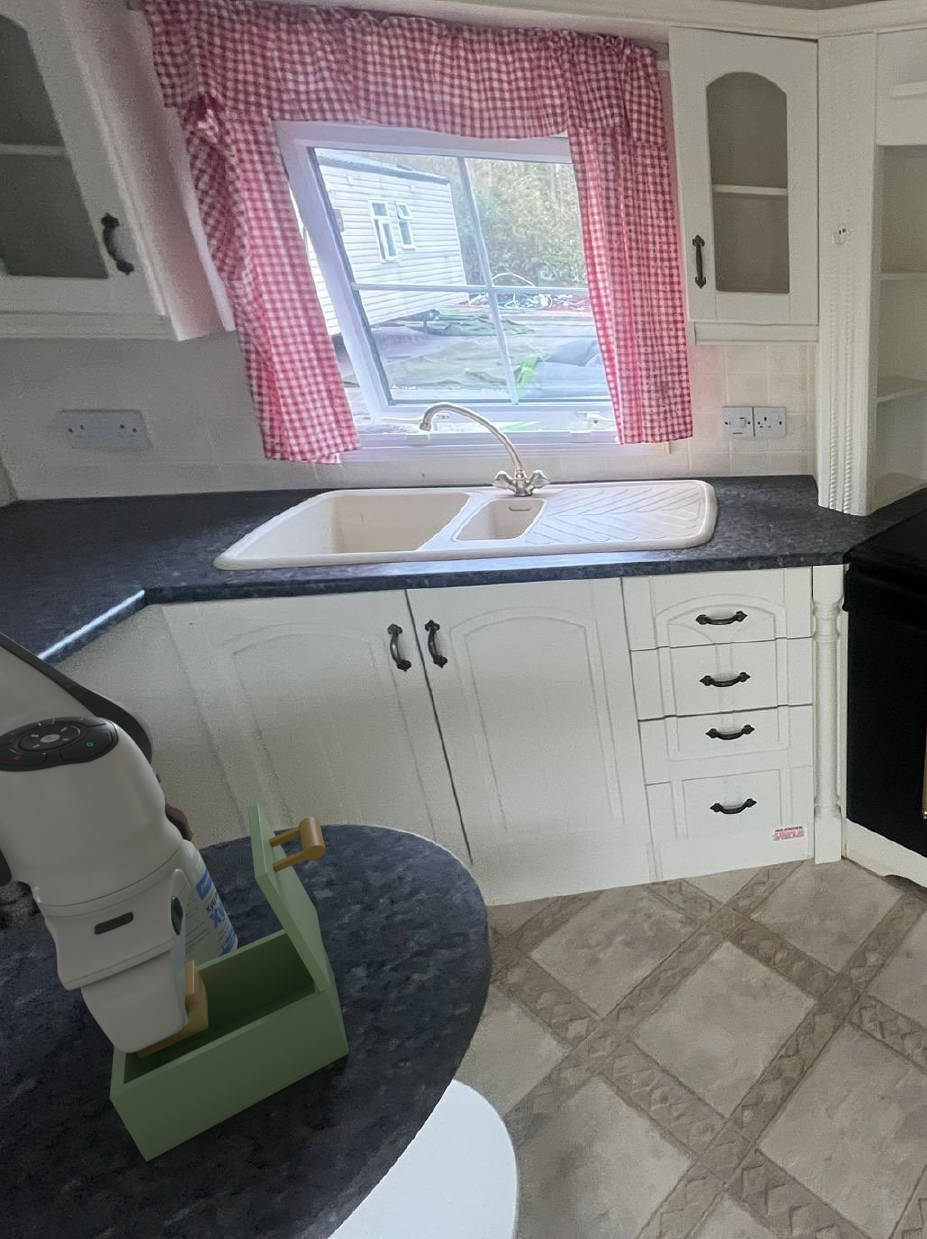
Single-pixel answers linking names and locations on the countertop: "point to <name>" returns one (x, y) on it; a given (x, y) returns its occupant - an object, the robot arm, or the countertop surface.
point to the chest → (232, 1046)
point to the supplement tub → (206, 918)
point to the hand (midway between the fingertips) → (177, 1000)
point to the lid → (290, 886)
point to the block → (197, 1011)
